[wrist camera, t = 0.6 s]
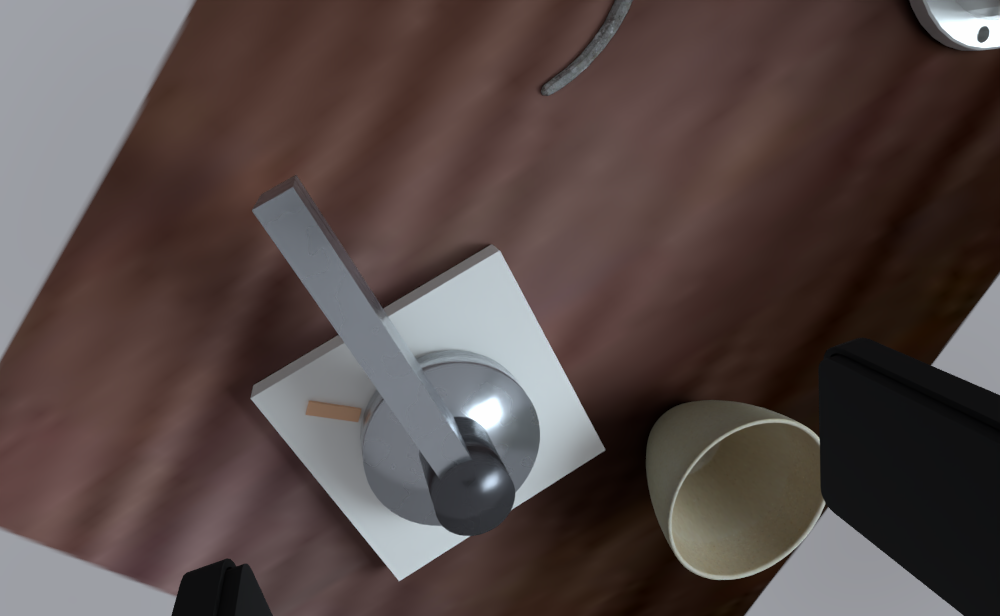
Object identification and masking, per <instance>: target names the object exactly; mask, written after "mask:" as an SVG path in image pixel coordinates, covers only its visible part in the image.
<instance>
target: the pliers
mask: <svg viewBox="0 0 1000 616" xmlns="http://www.w3.org/2000/svg"><path fill="white" fill-rule="evenodd" d="M632 1H633V0H615V1H614V4H613V6H612V8H611V10H610V12H609V14H608V16H607V18H606V20H605V22H604V24H603V25H602V27H601V28H600V30H599V31H598V33H597V34H596V36H595V37H594V39H593V40H592V41H591V42H590V44H589V45H588V46H587V47H586V48H585V50H584V51H583V52H582V53H581V55H580V56H579V57H578V58H576V59H575V60H574V61H573V62H572V63H571V64H570V65H569V66H568V67H567V68H566V69H564V70H563V71H562V72H560V73H559V74H558V75H556V76H555V77H554V78H552V79H551V80H550V81H548V82H547V83H546V84H545V85H543V86H542V90H541V93H542V95H546V96H549V95H551V94H553V93H554V92H556V91H558V90H560V89H561V88H562V87H564V86H565V85H567V84H568V83H569V82H571V81H572V80H573V79H575V78H576V77H577V76H578V75H579V74H580V73H581V72H582V71H583V70H585V69H586V68H587V67H588V66H589V65H590V64H591V63H592V62H593V60H594V59H595V58H596V57H597V56H598V55H599V54H600V52H601V51H602V50H603V49H604V48H605V46H606V45H607V44H608V42H609V41H610V40H611V38H612V37H613V36H614V34H615V33H616V32H617V30H618V28H619V26H620V25H621V23H622V21H623V19H624V18H625V16H626V14H627V12H628V10H629V8H630V6H631V3H632Z"/></svg>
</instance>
